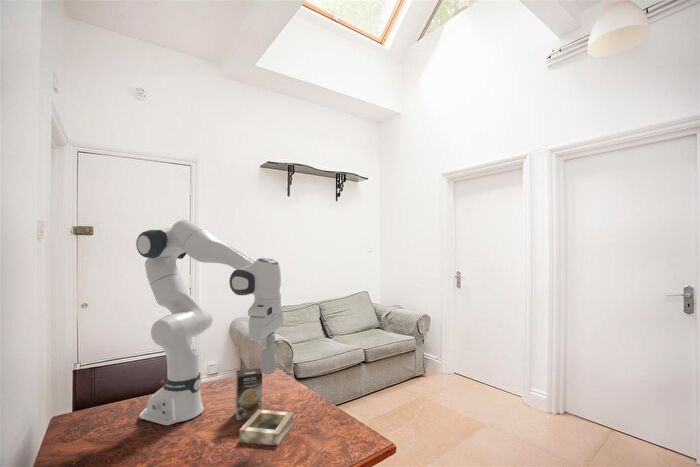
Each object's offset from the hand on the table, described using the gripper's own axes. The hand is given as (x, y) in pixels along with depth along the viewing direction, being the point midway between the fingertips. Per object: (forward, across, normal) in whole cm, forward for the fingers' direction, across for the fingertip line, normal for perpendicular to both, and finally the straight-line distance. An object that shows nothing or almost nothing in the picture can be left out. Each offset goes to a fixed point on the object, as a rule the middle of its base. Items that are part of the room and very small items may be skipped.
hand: (267, 346), depth 118 cm
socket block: (+30, 0, 0) cm, 30 cm away
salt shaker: (+9, 0, 0) cm, 9 cm away
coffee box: (+30, -10, -12) cm, 34 cm away
